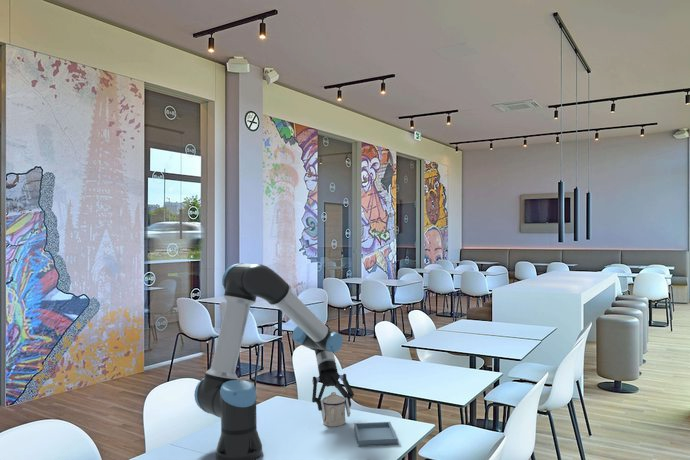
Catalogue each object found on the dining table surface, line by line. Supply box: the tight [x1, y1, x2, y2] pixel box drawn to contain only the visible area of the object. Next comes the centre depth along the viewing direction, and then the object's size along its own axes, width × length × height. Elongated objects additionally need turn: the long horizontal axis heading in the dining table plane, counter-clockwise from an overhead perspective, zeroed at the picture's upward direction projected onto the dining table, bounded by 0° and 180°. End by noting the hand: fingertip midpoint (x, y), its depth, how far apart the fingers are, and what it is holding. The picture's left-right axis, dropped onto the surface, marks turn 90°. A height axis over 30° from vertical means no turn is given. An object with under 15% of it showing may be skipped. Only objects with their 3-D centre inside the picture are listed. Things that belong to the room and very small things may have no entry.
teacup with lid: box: [322, 391, 346, 428], centre depth 199 cm, size 12×9×12 cm
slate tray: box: [353, 421, 399, 447], centre depth 186 cm, size 14×17×2 cm
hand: (336, 416), depth 196 cm, fingers closed on teacup with lid, 9 cm apart
